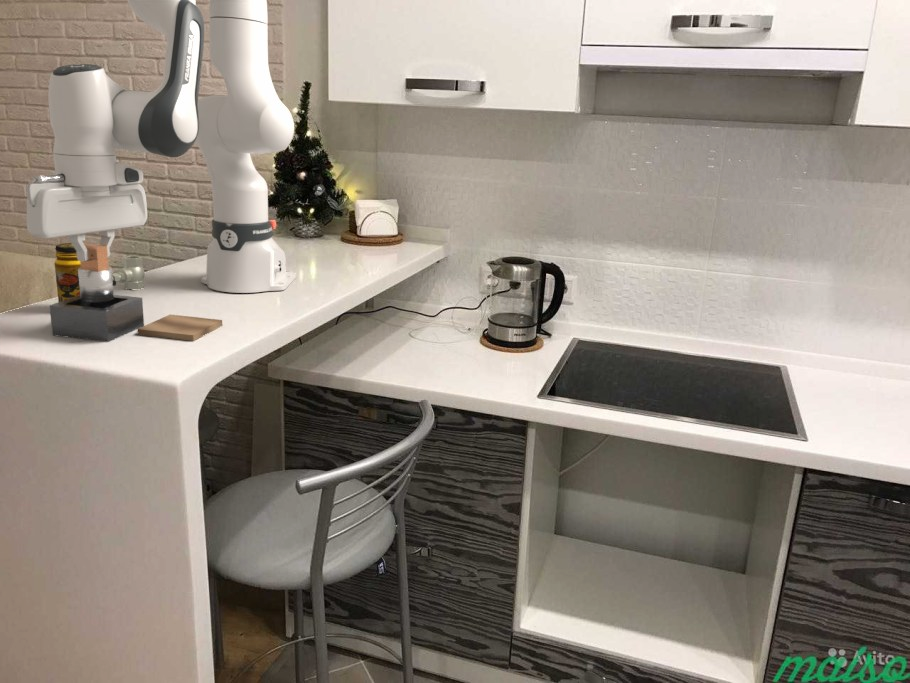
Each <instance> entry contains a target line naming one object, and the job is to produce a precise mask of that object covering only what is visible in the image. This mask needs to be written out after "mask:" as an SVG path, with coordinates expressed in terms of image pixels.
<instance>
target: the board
mask: <svg viewBox="0 0 910 683" xmlns="http://www.w3.org/2000/svg"><path fill="white" fill-rule="evenodd" d="M220 326H221V327H222V326H223V319H216V318H206V317H198V316H188V315H178V314H168V315H165V316H163V317H160V318H159V319H156V320H154V321H152V322H150V323H148V324H146V325H145V324H144V326H143V327H140V328H138V329H137V335H138V336H145V337H154V336H156V338H162V337H165V338H164V339H171V338H175V339H174V340H180V341H181V340H182V341H189V342H190V341H191V342H195V341H197V340H199V339H200V338H202V337H203V335H204V336H206V335H207V333H208V334H209V333H212V332H213V331H215V330H216V329H217V330H218V329H219V328H220ZM218 327H219V328H218ZM205 334H206V335H205Z"/></svg>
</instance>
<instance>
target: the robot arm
mask: <svg viewBox="0 0 910 683" xmlns="http://www.w3.org/2000/svg"><path fill="white" fill-rule="evenodd" d="M126 1H127V3H128V5H129V7H130V9H131V10H132V12H133V14H135V16H137V17H138V18H139V19H140V20H141V21H142V22H143V23H145V24H146V25H148V26H149V27H150V28H152V29H153V30H155V31H156V32H158V33H161V34H162V35H164V36H165V38H166V48H165V56H164V64H163V65H164V66H163V73H162V74H163V75H162V81H161V84H160V85H159V87H157V88H156V89H155V90H152V91H146V90H145V91H143V90H132V89H127V88H126V87H124V86H122V85H120V84H119V83H117V82H115V81H114V80H113V79H112V78H110V77H109V75H108V74H106V70H105V68H104V67H102V66H99V65H97V64H88V63H85V64H84V63H83V64H82V63H81V64H68V65H61V66H58V67H56V68H55V69H54V70H52V72H51V74H50V76H49V81H48V110H49V121H50V123H49V124H50V126H51V129H52V132H53V134H54V144H53V147H52V148H53V152H52V154H53V162H54V173H55V174H49V175H43V174H42V175H41V174H39V175H36V176H34V177H33V179H31V180H30V181H29V182H28V184H27V185H26V198H27V200H26V227H27V232H28V233H29V234H30V235H31V236H32V237H33V238H39V239H45V240H46V239H47V240H48V239H56V238H62V237H68V241H69V243H71V244H72V245H73V247H74V248H75V250H76V251H77V259H78V261H82V262H86V261H91V260H92V250H87V248H86V247H85V245H84V243H85V242H84V241H86V234H91V233H98V235H99V236H100V239H99V243H98V244H100V245H106V246H107V254H108V259H109V258H110V256H111V250H110V248H111V245H113V244H112V243H113V241H114V239H115V237H116V236H115V235H116V234H115V230H120V229H121V230H122V229H127V228H128V229H129V228H136V227H141V226H145V224H146V222H147V220H148V205H147V204H148V203H147V196H146V191H145V188H144V186H142V183H143V182H144V172H143V171H142V170H141V169H138V168H135V167H132V166H130V165H127V164H125V163H124V164H123V163H121V162H118V161H117V155H116V153H117V152H116V150H125V151H132V152H138V153H139V152H140V153H147V154H149V153H150V154H153V155H159V156H164V157H167V158H168V157H169V158H178V157H181V156H183V155H184V154H186V153H187V152H189V150H190V149H191V148H192V146H194V144H196V145H197V147H198V149H199V151H200V153H201V154H202V156H203V159H204V162H205V165H206V167H207V171H208V174H209V177H210V183H211V192H212V194H211V195H212V207H213V208H212V210H213V211H212V212H213V219H211V226H210V228H211V229H210V230H211V237H212V238H213V239H212V241H211V242H210V243H209V244H208V246H207V250H206V252H207V253H206V273H205V274H206V276H203V277H201V283H202V284H204V285H207V287H208V288H209V289H211V290H213V291H217V292H226V293H234V294H235V293H236V294H237V293H238V294H239V293H241V294H245V293H246V294H248V293H250V294H252V293H260V292H261V293H262V292H270V291H271V292H272V291H273V292H274V291H275V292H276V291H285V290H286V288H288V287H289V285H290V284H292V282H293V281H294V280H295V279H296V278H297V272H296V271H291V270H288V269H287V258H286V253H285V250H283V249H282V248H281V247H280V245H279V244H278V243H277V242H276V241H275V239H274V238H273V236H274V234H273V230H275V229H276V228H277V221H276V219H269V200H268V199H269V196H268V195H269V192H268V191H269V190H268V188H269V186H268V184H267V181H266V179H265V178H264V177H263V176H262V175H261V174H260V173H259V172H258V171H257V169H256V167H255V164H254V163H253V159H252V156H251V154H252V155H268V154H269V155H271V154H275V153H279V152H282V151H284V150H286V149H287V148H288V147H289V146H290V144H291V142H292V140H293V138H294V133H295V123H294V122H295V120H294V118H293V115H292V113H291V112H290V109H289V108H288V107H287V106H286V105H285V104H284V103H283V102H282V101H281V98H280V97H279V95H278V93H277V92H276V89H275V86H274V83H273V80H272V76H271V72H270V67H269V44H268V42H269V39H268V38H269V36H268V35H269V34H268V30H269V29H268V20H269V18H268V17H269V16H268V2H267V0H209V7H208V8H209V9H208V12H209V13H208V18H209V19H208V21H209V22H208V26H209V27H208V30H209V32H208V33H209V34H208V38H209V42H208V44H209V48H208V49H209V60H210V62H211V65H212V66H213V67H214V69H216V70H217V71H218V72H219V73H220V75H221V77H222V79H223V81H224V84H225V88H226V91H227V95H225V94H224V95H221V94H212V95H207V96H203V97H200V98H199V92H200V85H201V84H200V83H201V75H202V67H203V66H202V64H203V56H204V55H203V54H204V46H205V45H204V43H205V22H204V17H203V14H202V13H201V10H200V8H198V7H197V2H196V0H126Z"/></svg>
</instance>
